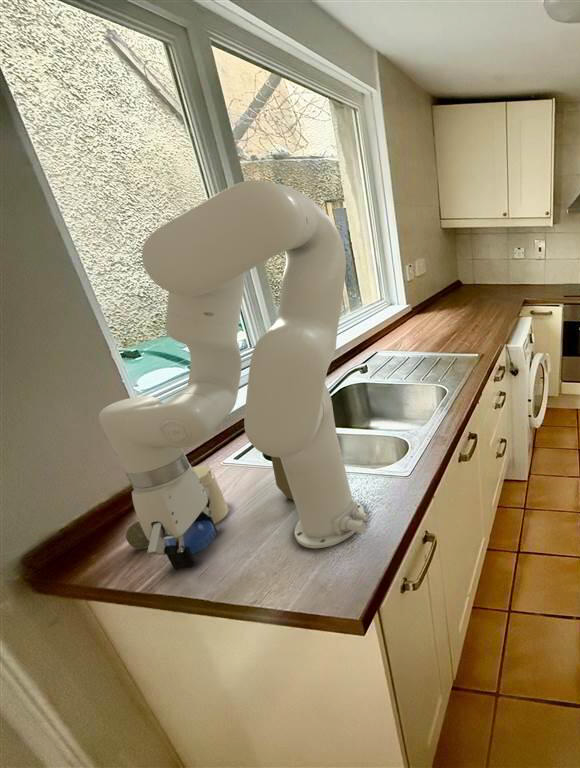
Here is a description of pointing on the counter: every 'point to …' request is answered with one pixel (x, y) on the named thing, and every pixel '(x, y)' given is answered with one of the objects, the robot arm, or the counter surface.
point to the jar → (212, 493)
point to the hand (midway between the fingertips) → (197, 549)
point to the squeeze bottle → (281, 477)
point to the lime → (137, 536)
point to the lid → (198, 536)
